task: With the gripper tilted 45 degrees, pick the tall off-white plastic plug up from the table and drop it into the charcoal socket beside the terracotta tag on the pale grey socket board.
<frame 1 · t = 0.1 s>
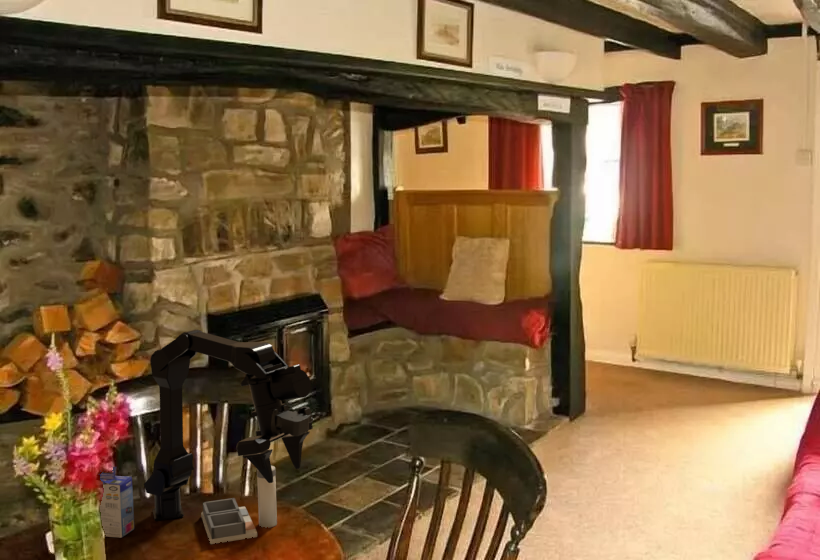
hand: (284, 475, 180), 15 cm above the table, tool pointing down, fingers open, 9 cm apart
ink cartridge box: (109, 532, 189), on the table
socket board: (228, 526, 191), on the table
plug: (268, 524, 193), on the table
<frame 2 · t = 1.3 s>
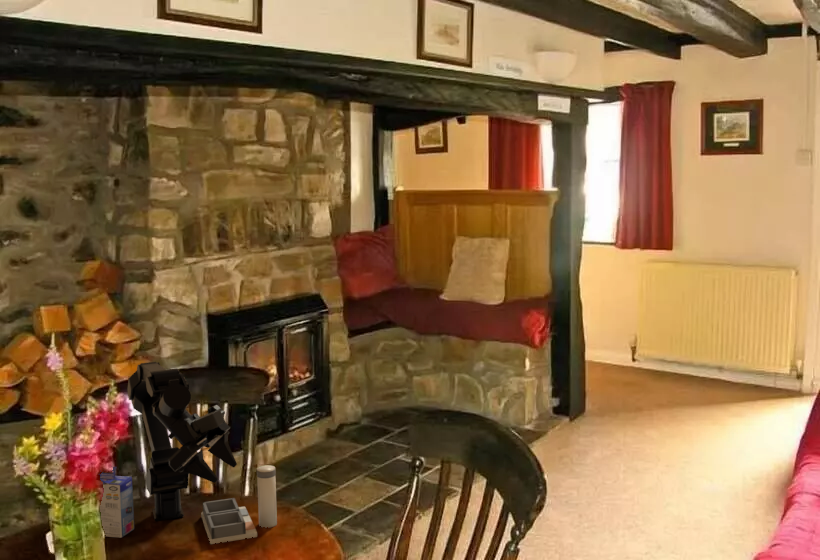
hand: (226, 473, 187), 13 cm above the table, tool tilted 45°, fingers open, 9 cm apart
nothing on the table moved.
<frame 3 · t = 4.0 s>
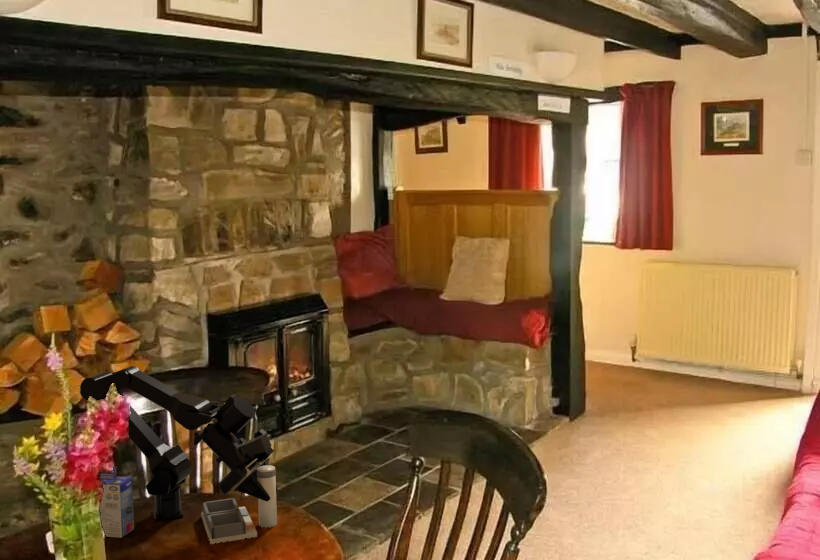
hand: (272, 496, 191), 7 cm above the table, tool tilted 45°, fingers closed on plug, 4 cm apart
plug: (268, 524, 193), on the table, touching gripper
everything else where it was.
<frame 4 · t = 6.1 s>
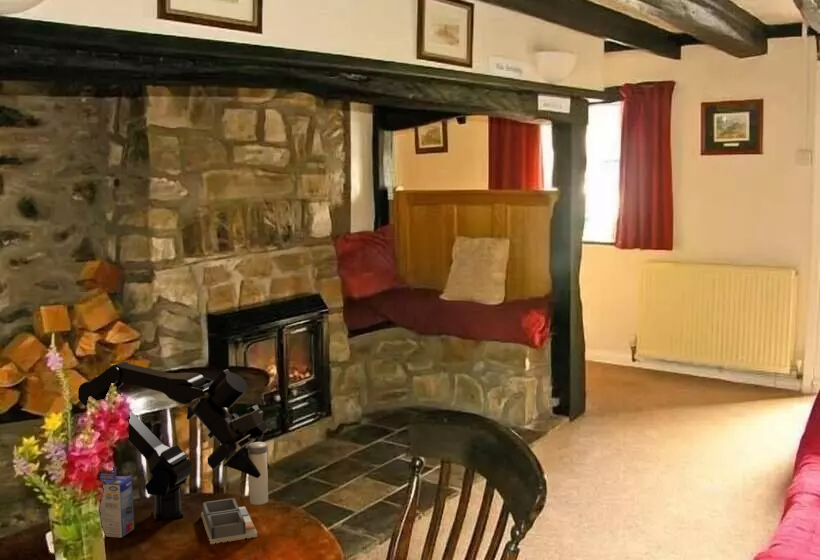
hand: (263, 473, 189), 13 cm above the table, tool tilted 45°, fingers closed on plug, 4 cm apart
plug: (259, 501, 191), point 6 cm above the table, touching gripper
everything else where it was.
when the fingers open (9 cm above the table, at t = 8.0 s): plug drops 1 cm, resting on socket board.
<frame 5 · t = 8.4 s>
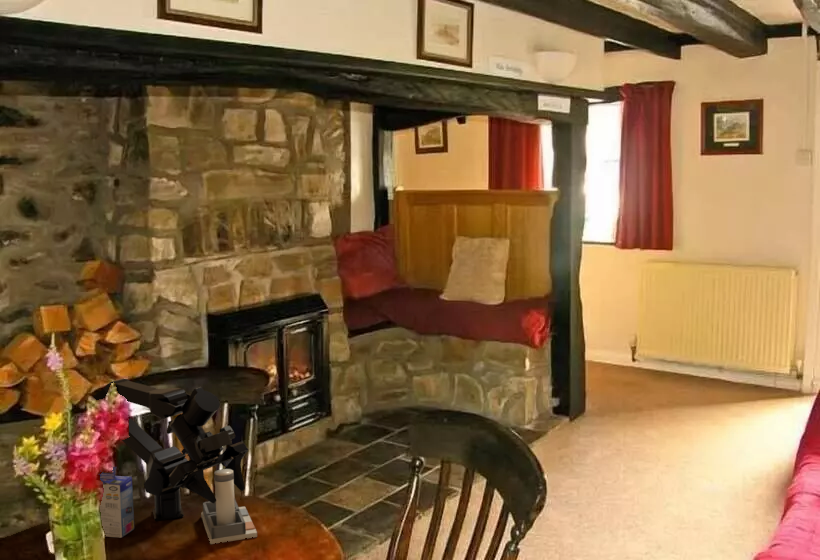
hand: (229, 496, 185), 9 cm above the table, tool tilted 45°, fingers open, 8 cm apart
plug: (226, 529, 187), point 1 cm above the table, touching socket board
everything else where it was.
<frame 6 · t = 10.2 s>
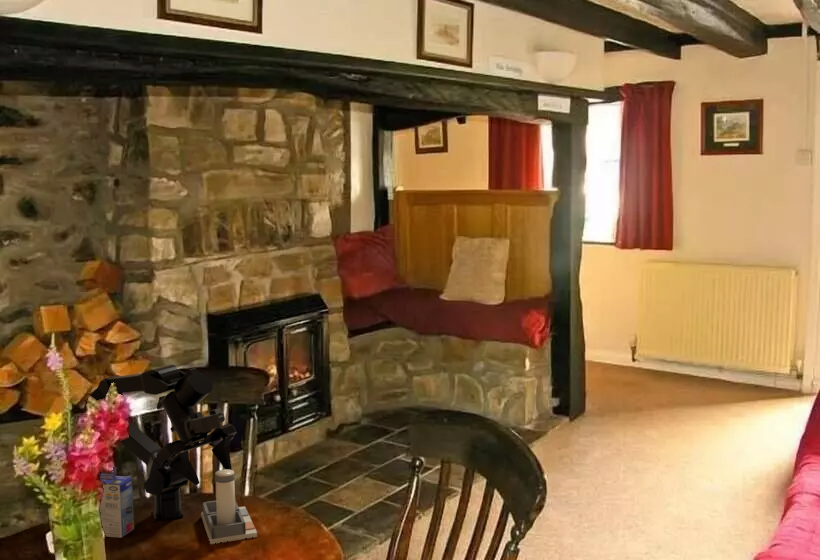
hand: (214, 477, 188), 12 cm above the table, tool tilted 40°, fingers open, 9 cm apart
nothing on the table moved.
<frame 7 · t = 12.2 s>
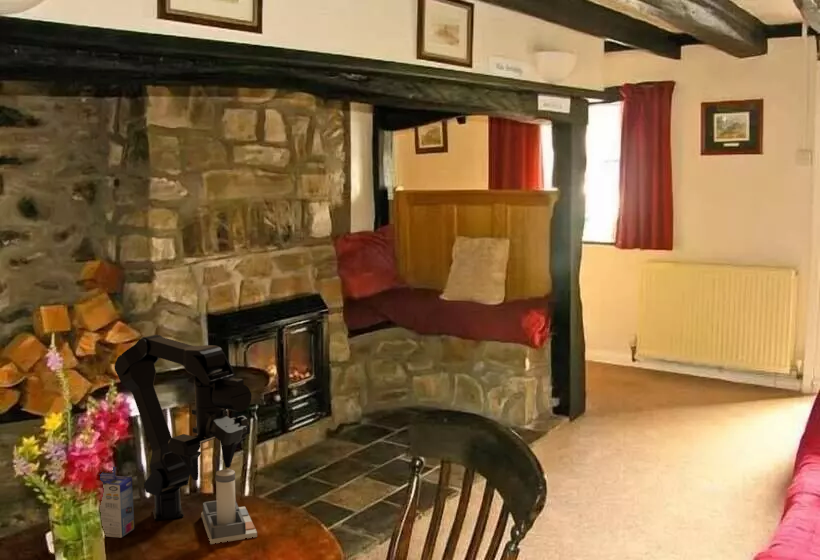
hand: (211, 473, 188), 13 cm above the table, tool pointing down, fingers open, 9 cm apart
nothing on the table moved.
at the end: plug 0.0 cm from the target spot on the socket board, point 1.0 cm above the socket board's base; plug tilted 1°; the gripper is holding nothing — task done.
